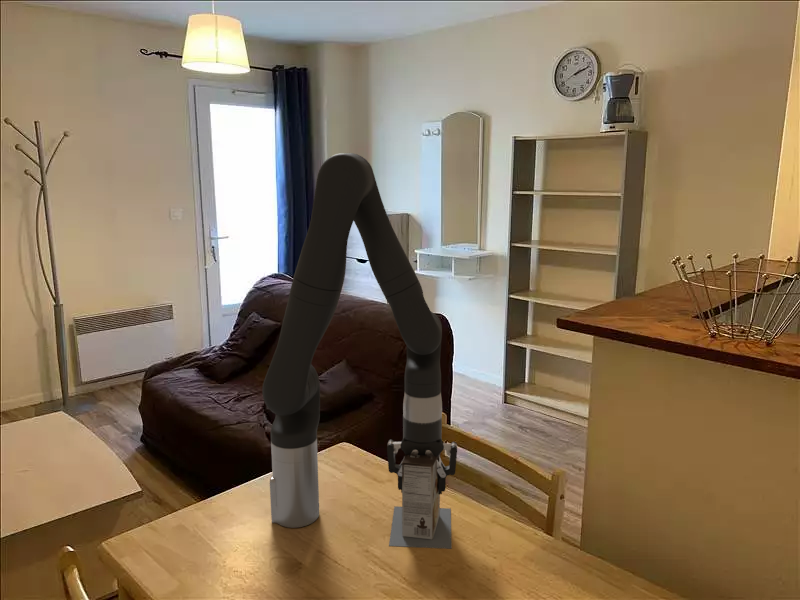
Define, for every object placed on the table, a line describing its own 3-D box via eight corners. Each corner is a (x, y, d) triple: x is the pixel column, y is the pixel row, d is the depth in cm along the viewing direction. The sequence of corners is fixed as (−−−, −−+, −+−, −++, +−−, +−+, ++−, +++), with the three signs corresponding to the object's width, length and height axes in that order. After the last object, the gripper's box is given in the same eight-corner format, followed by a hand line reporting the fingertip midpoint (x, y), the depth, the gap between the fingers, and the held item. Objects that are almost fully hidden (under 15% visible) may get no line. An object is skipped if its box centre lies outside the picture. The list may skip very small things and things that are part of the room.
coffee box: (410, 511, 129) (410, 441, 126) (440, 515, 128) (441, 443, 125) (401, 537, 120) (401, 461, 117) (433, 540, 119) (434, 464, 116)
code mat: (388, 547, 118) (388, 545, 118) (394, 507, 132) (394, 506, 131) (451, 549, 117) (451, 548, 117) (450, 509, 131) (450, 508, 131)
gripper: (383, 420, 116) (384, 500, 119) (460, 422, 115) (458, 503, 118) (387, 405, 123) (387, 481, 127) (459, 407, 122) (457, 483, 126)
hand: (421, 491), depth 123 cm, fingers closed on coffee box, 7 cm apart
